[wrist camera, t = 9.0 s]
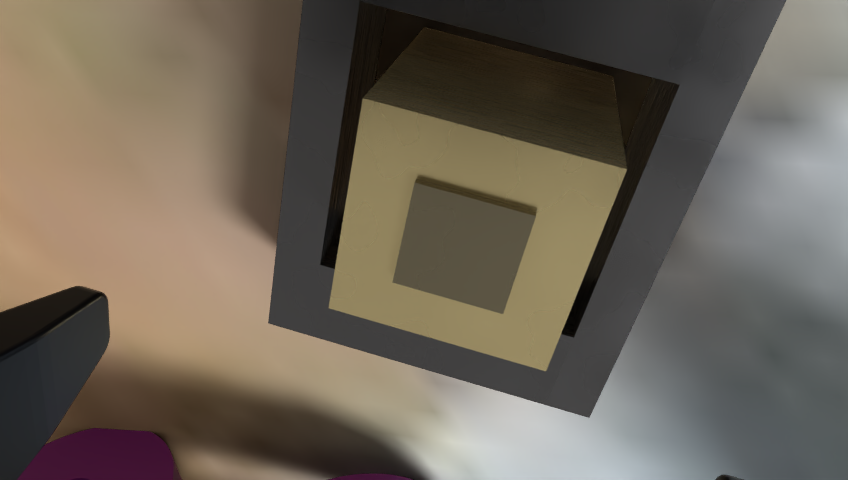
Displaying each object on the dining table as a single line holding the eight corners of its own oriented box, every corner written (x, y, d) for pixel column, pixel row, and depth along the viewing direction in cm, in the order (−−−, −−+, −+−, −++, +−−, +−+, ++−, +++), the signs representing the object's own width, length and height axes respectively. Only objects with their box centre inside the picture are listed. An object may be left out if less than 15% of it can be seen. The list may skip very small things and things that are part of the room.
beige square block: (554, 238, 20) (545, 377, 15) (391, 193, 20) (325, 313, 15) (612, 75, 17) (627, 173, 12) (425, 26, 18) (359, 100, 12)
